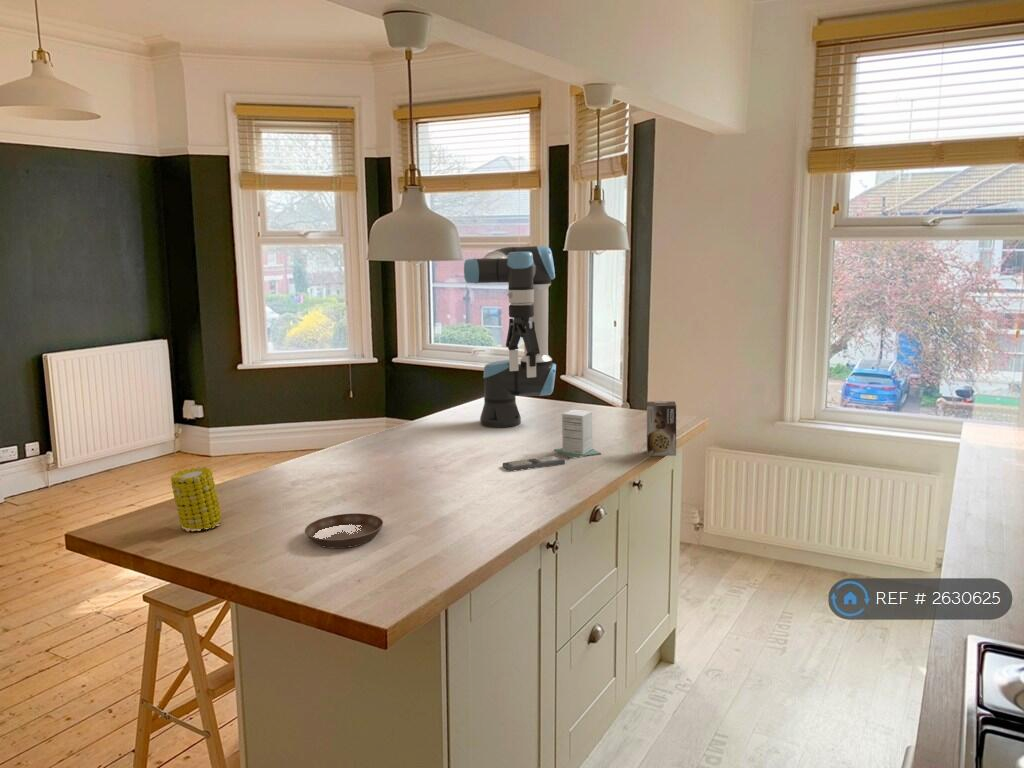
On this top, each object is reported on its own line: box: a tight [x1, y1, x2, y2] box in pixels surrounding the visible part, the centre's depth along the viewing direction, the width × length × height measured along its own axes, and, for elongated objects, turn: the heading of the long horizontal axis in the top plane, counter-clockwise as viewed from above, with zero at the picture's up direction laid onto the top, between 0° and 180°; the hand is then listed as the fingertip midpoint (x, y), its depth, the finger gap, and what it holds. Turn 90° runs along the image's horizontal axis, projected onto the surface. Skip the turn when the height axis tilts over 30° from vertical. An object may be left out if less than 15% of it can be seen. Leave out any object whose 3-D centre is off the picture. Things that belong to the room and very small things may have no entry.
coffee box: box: [646, 400, 677, 457], centre depth 244 cm, size 9×6×16 cm
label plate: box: [502, 455, 566, 472], centre depth 235 cm, size 6×18×2 cm, turn 112°
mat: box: [553, 447, 602, 459], centre depth 249 cm, size 11×11×1 cm
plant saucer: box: [304, 512, 384, 549], centre depth 180 cm, size 18×18×3 cm
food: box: [170, 466, 222, 530], centre depth 188 cm, size 15×12×10 cm
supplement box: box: [561, 409, 593, 455], centre depth 248 cm, size 7×7×13 cm
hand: (522, 374), depth 238 cm, fingers open, 13 cm apart
